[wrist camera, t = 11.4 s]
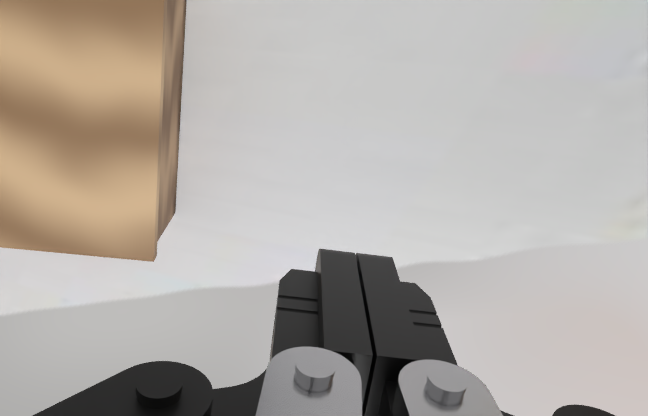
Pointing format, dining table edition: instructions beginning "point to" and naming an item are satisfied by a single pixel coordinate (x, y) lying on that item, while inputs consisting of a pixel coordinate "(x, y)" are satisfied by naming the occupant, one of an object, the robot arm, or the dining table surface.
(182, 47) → the box
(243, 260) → the dining table surface
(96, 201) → the lid
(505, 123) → the dining table surface
